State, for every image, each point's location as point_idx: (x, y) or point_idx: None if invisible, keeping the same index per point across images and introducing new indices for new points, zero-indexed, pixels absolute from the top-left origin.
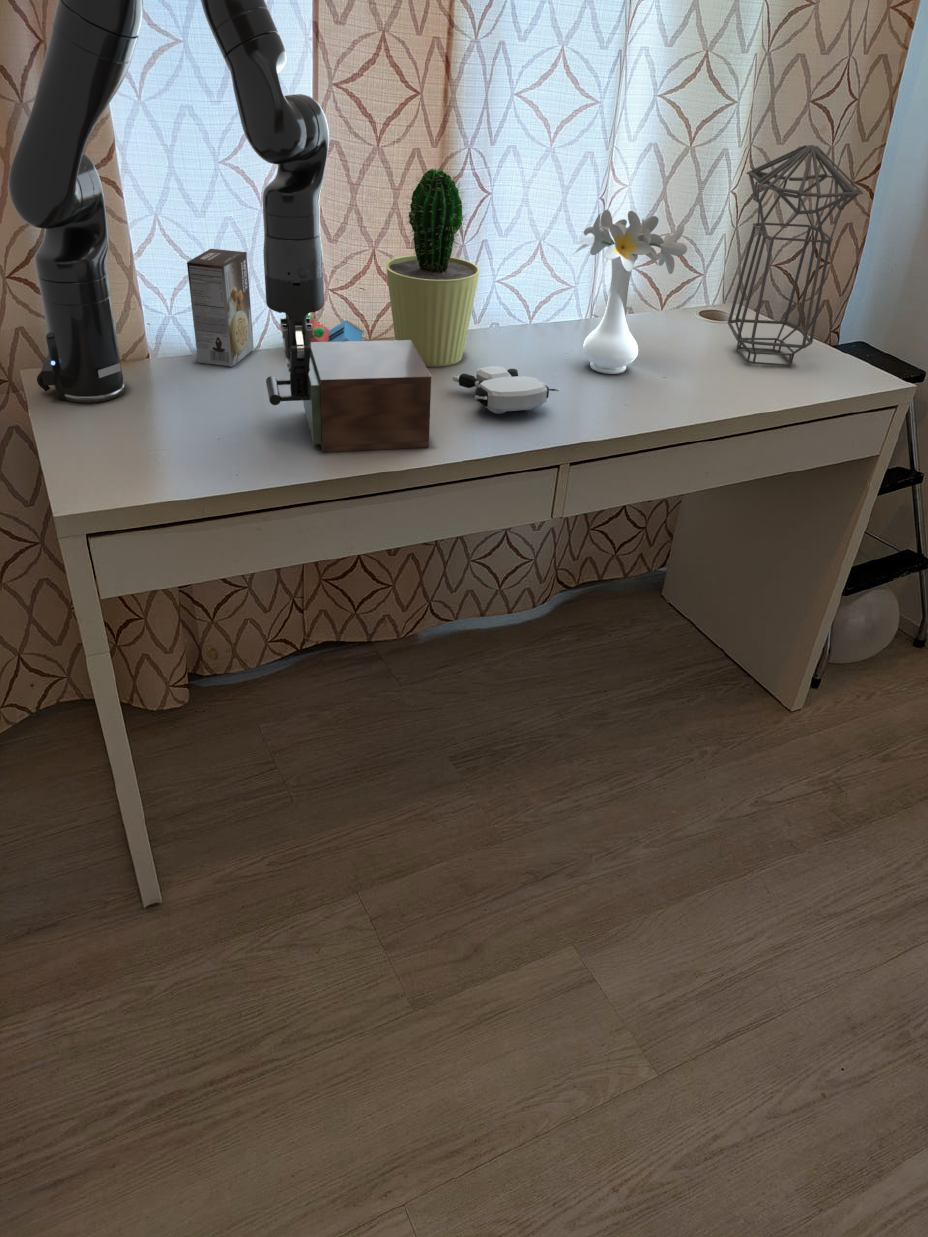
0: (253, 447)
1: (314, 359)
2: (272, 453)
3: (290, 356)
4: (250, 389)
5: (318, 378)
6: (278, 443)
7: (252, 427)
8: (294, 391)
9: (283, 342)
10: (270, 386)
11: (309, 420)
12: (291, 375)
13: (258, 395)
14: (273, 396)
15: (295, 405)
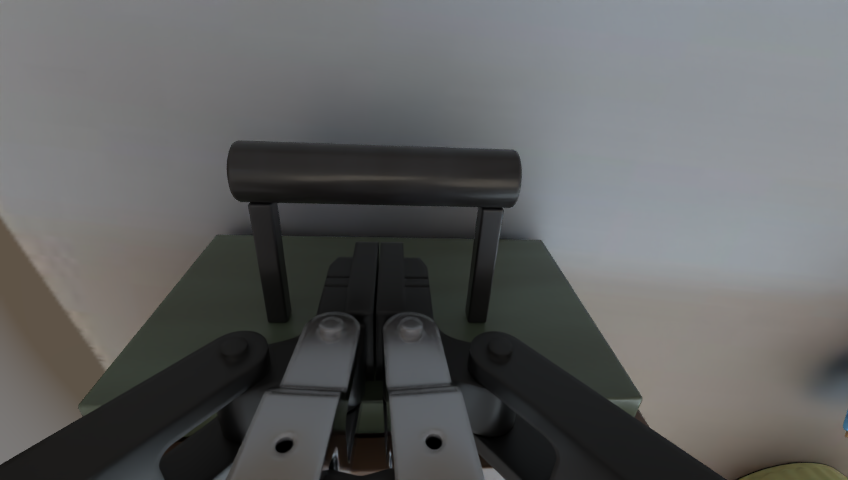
0: (247, 15)
1: (385, 469)
2: (195, 87)
3: (87, 466)
4: (813, 67)
5: (177, 443)
6: (286, 119)
7: (443, 33)
8: (327, 273)
9: (444, 444)
10: (369, 170)
11: (318, 256)
12: (345, 311)
13: (740, 93)
14: (229, 171)
15: (598, 210)
